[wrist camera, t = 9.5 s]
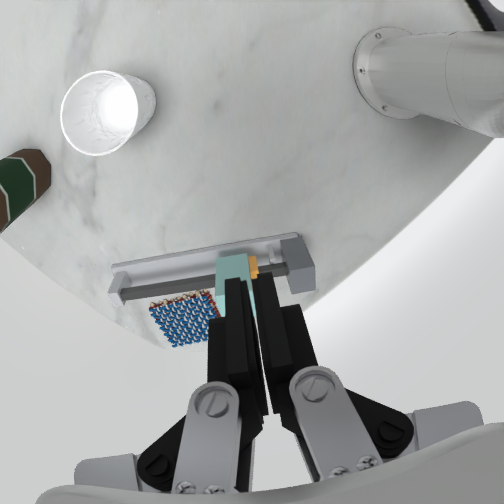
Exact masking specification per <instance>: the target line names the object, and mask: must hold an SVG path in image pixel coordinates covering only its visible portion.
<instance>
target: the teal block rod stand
mask: <svg viewBox="0 0 504 504" xmlns="http://www.w3.org/2000/svg"><path fill="white" fill-rule="evenodd" d="M245 253H247V256H248V262H249V270H250V276H251V279H255V278H257V274H260V273H265V272H271V271H272V275H273V277H278V276H284V275H286V277H287V280H288V283H289V287H290V290H291V294H296V293H302V292H307V291H312V290H316V283H315V265H314V263H313V260H312V258H311V256H310V254H309V252H308V249H307V247H306V245H305V243H304V241H303V239H302V236H301V237H298V235H297V233H296V232H295V233H289V234H283V235H277V236H271V237H265V238H259V239H253V240H247V241H242V242H236V243H230V244H224V245H219V246H213V247H207V248H202V249H196V250H190V251H185V252H179V253H173V254H168V255H162V256H157V257H151V258H146V259H140V260H135V261H129V262H124V263H119V264H113V265H112V267H111V270H112V272H113V275H114V279H113V282H112V284H111V286H110V288H109V291H108V293H107V295H108V297H109V299H110V301H111V302H112V304H113V306H114V307H121V306H124V304H125V302H126V300H133V299H140V298H147V297H154V296H161V295H168V294H174V293H181V292H187V291H194V290H200V289H207V288H213V287H215V276H216V258H221V257H227V256H233V255H239V254H245Z"/></svg>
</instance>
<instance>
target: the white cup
mask: <svg viewBox="0 0 504 504" xmlns="http://www.w3.org/2000/svg"><path fill="white" fill-rule="evenodd" d="M156 103H157V102H156V97H155V93H154V90H153V89H152V87H151V86H150V85H149V84H148V83H147V82H146V81H144V80H142V79H139V78H137V77H135V76H131V75H128V74H123V73H117V72H112V71H94V72H91V73H88V74H86V75H84V76H82V77H81V78H79V79H78V80H77V81H76V82H75V83H74V84H73V85H72V86H71V87H70V88H69V90H68V91H67V93H66V95H65V97H64V99H63V102H62V106H61V111H60V122H61V127H62V131H63V134H64V136H65V138H66V139H67V141H68V142H69V143H70V145H71V146H72V147H74V148H75V149H76V150H78V151H79V152H81V153H83V154H86V155H91V156H101V155H106V154H109V153H112V152H114V151H115V150H117V149H119V148H120V147H121V146H122V145H123V144H125V143H126V142H127V141H128V140H129V139H131V138H132V137H133V136H134V135H135V134H137V133H138V132H139V131H140V130H141V129H142V128H143V127H144V126H145V125H146V124H147V123H148V121H149V120H150V119H151V117H152V116H153V115H154V111H155V107H156Z"/></svg>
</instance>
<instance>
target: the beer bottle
mask: <svg viewBox="0 0 504 504" xmlns="http://www.w3.org/2000/svg"><path fill="white" fill-rule="evenodd" d="M49 186H50V164H49V162H48V161H47V160H46V158H45V157H44V156H43V154H42V153H41V151H40V150H31V149H23V150H20V151H17V152H15V153H13V154H11V155H9V156H8V157H6V158H4V159H2V160H0V234H1V233H2V232H3V231H4V230H5V229H6V228H7V227H8V226H9V225H10V224H11V223H12V222H13V221H14V220H15V219H16V218H18V217H19V216H20V215H21V214H22V213H23V212H24V211H25V210H27V209H28V208H29V207H30V206H31V205H32V204H34V203H35V202H36V201H37V200H38V199H39V198H40V196H41V195H42V194H43V193H44V192H45V191H46V190H47V189H48V187H49Z"/></svg>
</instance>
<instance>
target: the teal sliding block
mask: <svg viewBox="0 0 504 504" xmlns="http://www.w3.org/2000/svg"><path fill="white" fill-rule="evenodd" d="M236 277H240V279H241V281H243V280H247V285H248V290H249V294H250V299H251V304H252V309H253V314H254V317H256V310H255V303H254V296H253V288H252V281H251V276H250V270H249V262H248V256H247V253H245V254H239V255H233V256H227V257H221V258H216V276H215V297H216V301H217V304H218V307H219V311H220V314H221V317H225V283H224V281H225V279H230V278H236Z"/></svg>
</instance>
